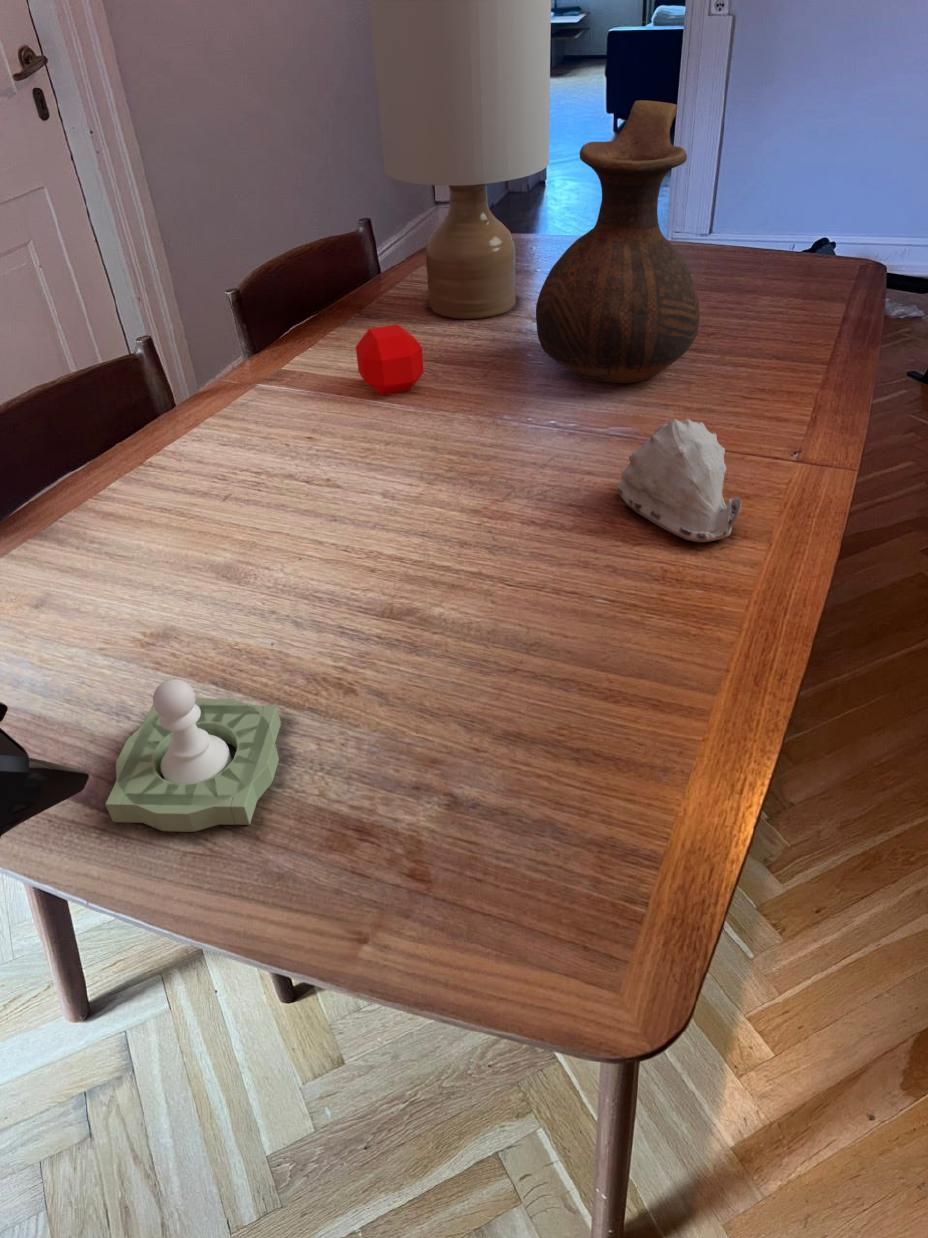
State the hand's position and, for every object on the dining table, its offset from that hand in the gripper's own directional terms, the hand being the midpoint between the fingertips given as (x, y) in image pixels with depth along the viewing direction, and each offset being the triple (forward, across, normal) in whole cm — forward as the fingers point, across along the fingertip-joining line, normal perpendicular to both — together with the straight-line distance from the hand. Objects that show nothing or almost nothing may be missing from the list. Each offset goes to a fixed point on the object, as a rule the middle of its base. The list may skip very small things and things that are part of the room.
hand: (42, 745), depth 53 cm
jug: (+72, +16, -56) cm, 93 cm away
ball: (+56, +37, -40) cm, 78 cm away
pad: (+15, +2, +2) cm, 15 cm away
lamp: (+78, +48, -62) cm, 110 cm away
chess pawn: (+15, +2, +2) cm, 15 cm away
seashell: (+53, -10, -37) cm, 65 cm away
